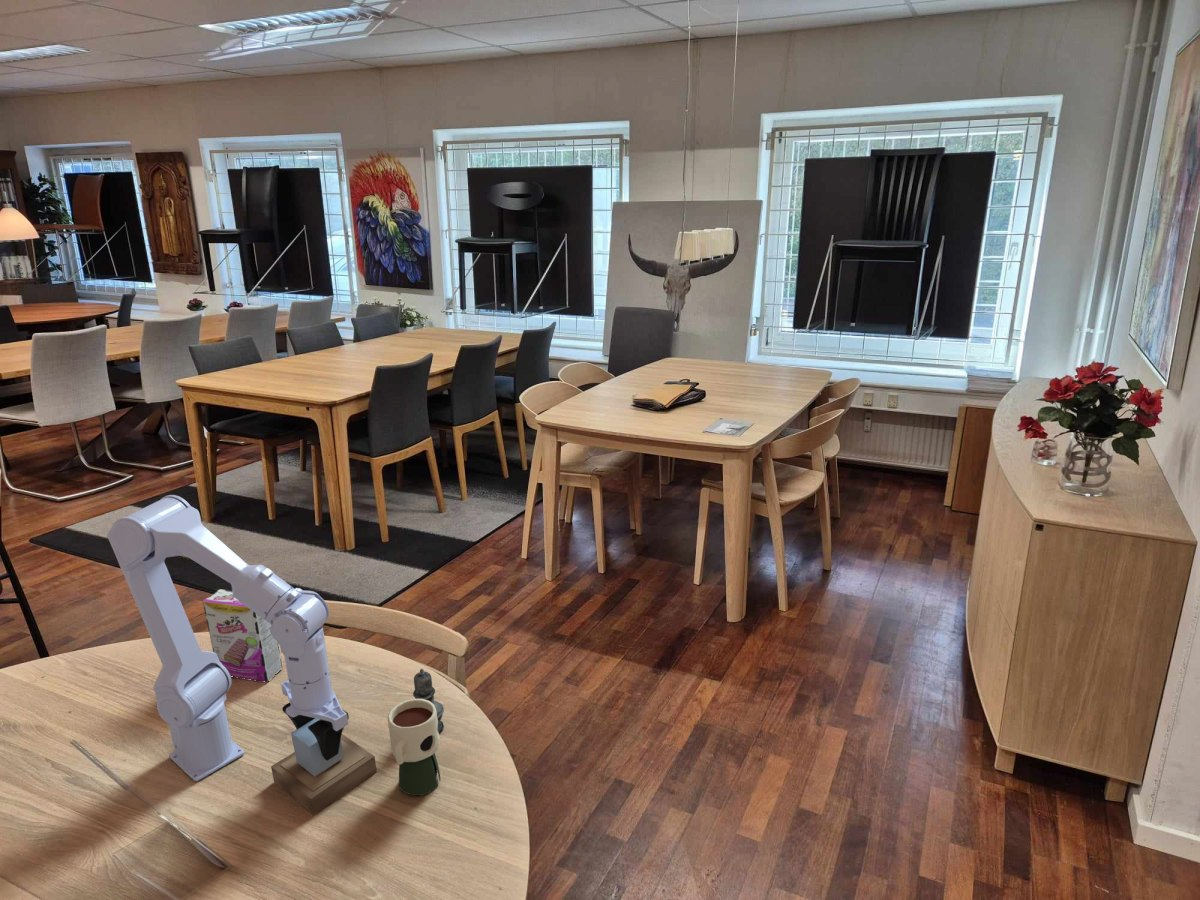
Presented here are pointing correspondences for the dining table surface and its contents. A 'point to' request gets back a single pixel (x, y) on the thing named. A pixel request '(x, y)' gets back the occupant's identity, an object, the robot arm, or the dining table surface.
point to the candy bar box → (241, 638)
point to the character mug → (415, 744)
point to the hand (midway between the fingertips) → (321, 748)
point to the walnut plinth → (324, 777)
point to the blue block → (311, 750)
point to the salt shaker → (428, 694)
